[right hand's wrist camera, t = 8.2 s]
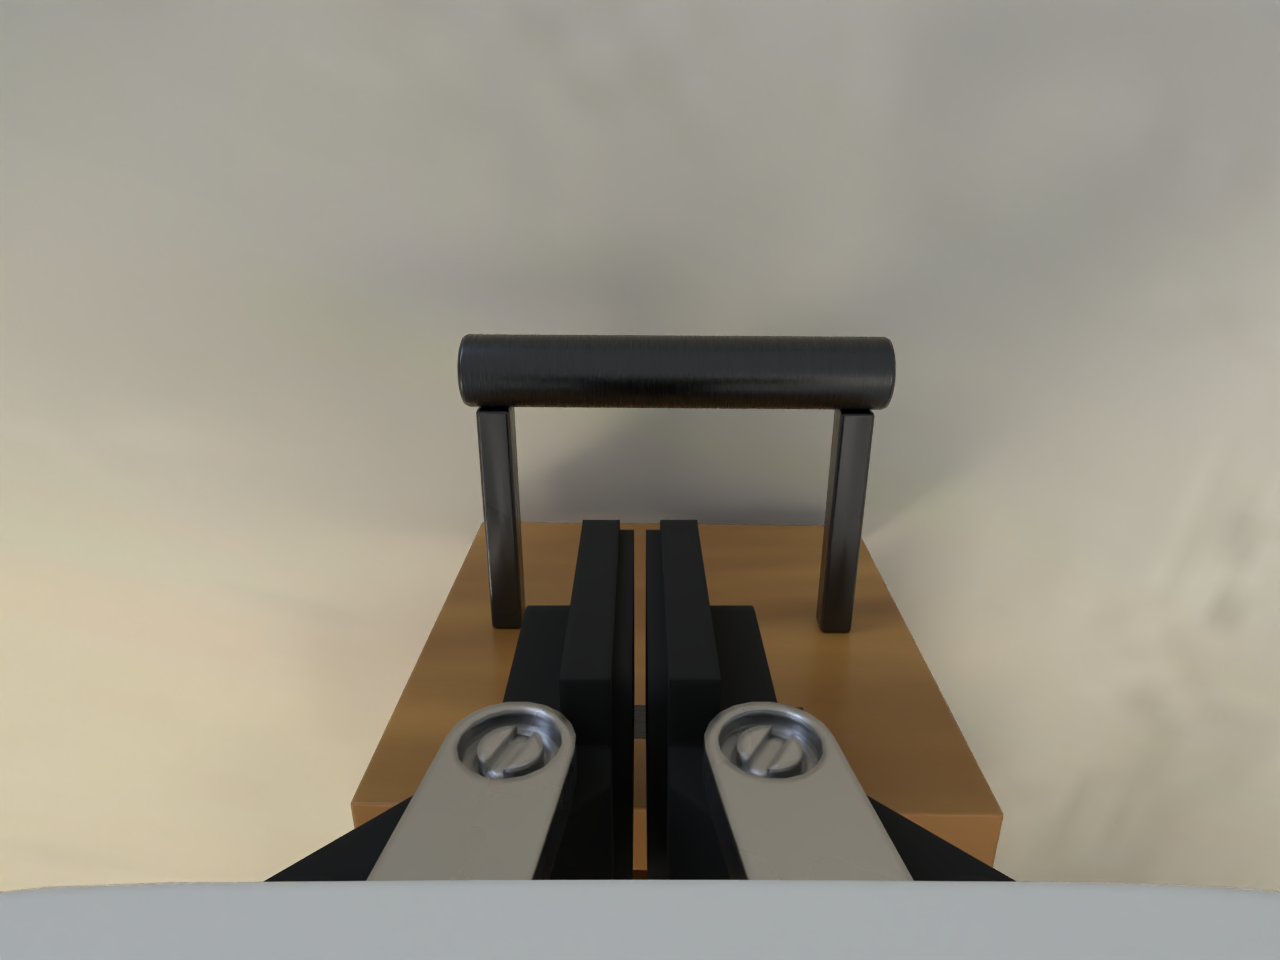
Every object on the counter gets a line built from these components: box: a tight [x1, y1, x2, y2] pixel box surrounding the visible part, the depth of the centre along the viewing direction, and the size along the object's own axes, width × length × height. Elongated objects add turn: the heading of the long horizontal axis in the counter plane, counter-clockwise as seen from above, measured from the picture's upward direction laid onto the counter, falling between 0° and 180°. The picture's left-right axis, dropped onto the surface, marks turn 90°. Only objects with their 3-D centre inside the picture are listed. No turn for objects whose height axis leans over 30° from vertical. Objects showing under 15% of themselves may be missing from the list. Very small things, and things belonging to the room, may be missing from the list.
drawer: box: [351, 334, 1003, 880], centre depth 18 cm, size 18×9×10 cm, turn 0°
